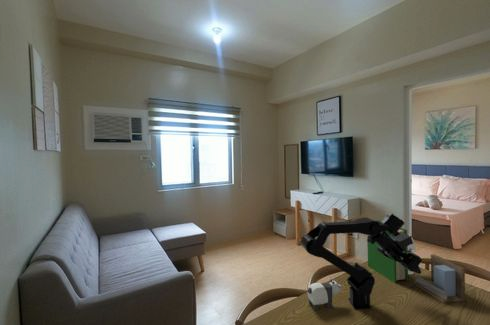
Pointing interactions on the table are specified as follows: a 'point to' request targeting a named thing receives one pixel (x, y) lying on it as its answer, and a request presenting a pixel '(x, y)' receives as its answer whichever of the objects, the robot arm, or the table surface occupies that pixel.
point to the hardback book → (386, 262)
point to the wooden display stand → (437, 292)
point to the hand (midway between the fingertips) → (411, 267)
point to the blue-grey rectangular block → (445, 279)
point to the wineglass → (411, 250)
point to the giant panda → (322, 293)
